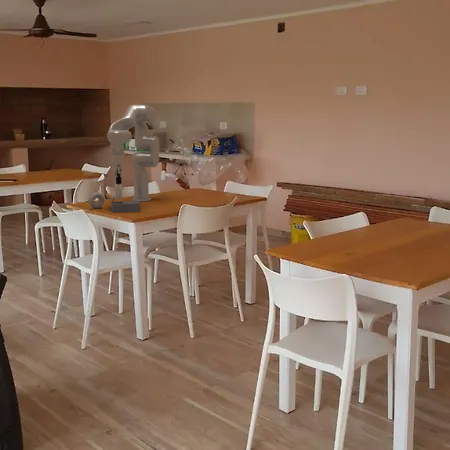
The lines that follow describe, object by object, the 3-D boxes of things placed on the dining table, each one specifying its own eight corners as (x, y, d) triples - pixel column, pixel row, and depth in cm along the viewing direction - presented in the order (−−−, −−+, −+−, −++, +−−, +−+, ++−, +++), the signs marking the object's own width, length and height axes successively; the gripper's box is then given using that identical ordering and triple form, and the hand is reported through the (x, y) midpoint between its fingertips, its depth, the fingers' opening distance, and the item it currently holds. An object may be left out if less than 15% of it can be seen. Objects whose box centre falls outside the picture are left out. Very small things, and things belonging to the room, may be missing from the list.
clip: (111, 199, 365) (110, 196, 364) (106, 196, 378) (105, 193, 378) (115, 199, 366) (114, 196, 365) (109, 196, 379) (109, 192, 379)
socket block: (111, 209, 370) (110, 199, 368) (137, 208, 374) (137, 198, 373) (113, 212, 359) (112, 201, 358) (140, 211, 364) (140, 200, 362)
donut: (90, 209, 368) (89, 193, 366) (88, 209, 371) (87, 192, 369) (105, 208, 374) (105, 191, 372) (103, 207, 377) (102, 191, 375)
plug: (113, 197, 366) (112, 175, 364) (123, 196, 368) (122, 175, 365) (114, 199, 361) (113, 177, 358) (124, 198, 362) (123, 176, 360)
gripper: (109, 151, 365) (110, 181, 369) (112, 153, 350) (113, 185, 354) (122, 151, 368) (123, 181, 371) (125, 153, 352) (126, 185, 356)
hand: (118, 183), depth 363 cm, fingers closed on plug, 3 cm apart
